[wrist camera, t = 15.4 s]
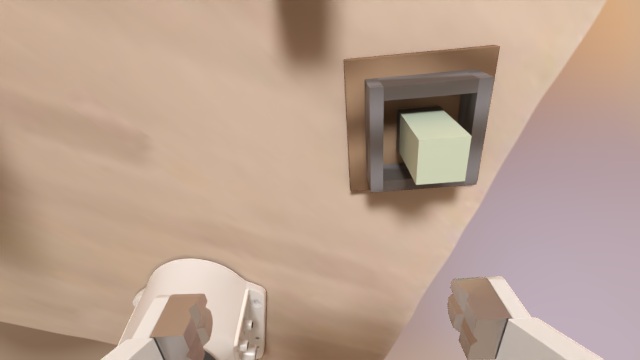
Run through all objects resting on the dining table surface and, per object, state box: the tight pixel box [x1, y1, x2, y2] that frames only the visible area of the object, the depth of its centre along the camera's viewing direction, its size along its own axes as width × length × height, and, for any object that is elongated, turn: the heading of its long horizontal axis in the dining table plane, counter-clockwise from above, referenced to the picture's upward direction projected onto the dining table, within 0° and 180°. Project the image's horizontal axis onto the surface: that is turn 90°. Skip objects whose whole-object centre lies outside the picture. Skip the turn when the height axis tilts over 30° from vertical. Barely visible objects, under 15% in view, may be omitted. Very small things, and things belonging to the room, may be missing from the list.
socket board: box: [344, 45, 500, 192], centre depth 32 cm, size 14×14×4 cm
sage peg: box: [396, 106, 472, 185], centre depth 29 cm, size 4×4×8 cm
